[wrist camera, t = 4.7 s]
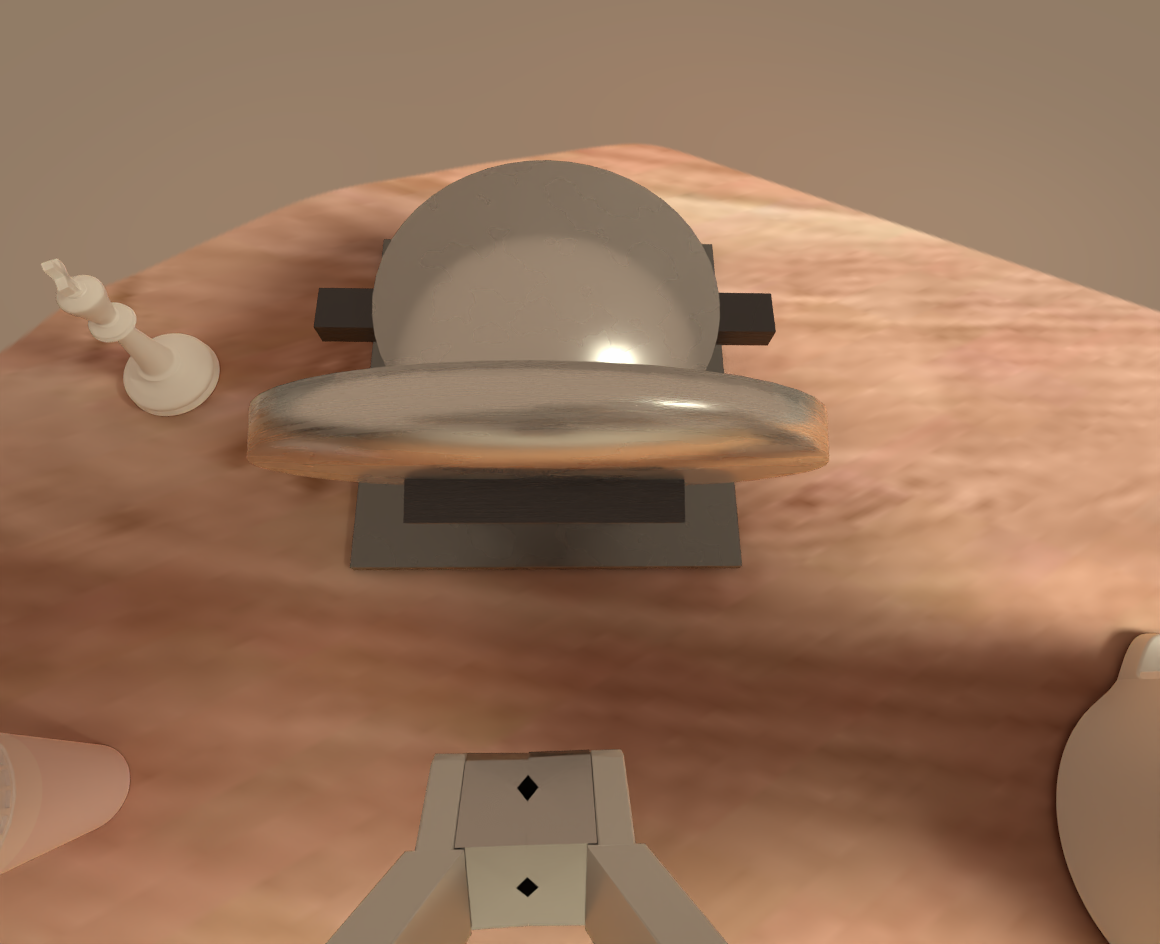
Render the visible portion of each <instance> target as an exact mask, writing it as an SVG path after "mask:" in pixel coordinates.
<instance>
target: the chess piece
mask: <svg viewBox="0 0 1160 944" xmlns="http://www.w3.org/2000/svg"><path fill="white" fill-rule="evenodd" d="M41 266H42V269H43V271H44V272H45V273H46V274H48V276H50V277H51V278H52V279H53V280H54V281H55V284H56V286H57V289H58V290H57V293H56V302H57V304H58V305H59V307H60V308H61V309H62V310H63V311H65V312H67V313H69V314H71V315H74V316H77V317H81V318H84V319H86V320H88V327H89V330H90V332H91V334H92V335H93V336H94V337H95V338H96V339H97V340H99V341H102V342H116V341H118V342H119V343H120V344H121V345H122V346H123V348H124V349H125V350H126V351H127V352H128V353H129V355H130V358H129V360H128V361H127V363H126V366H125V369H124V374H123V382H124V387H125V390H126V392H127V394H128V395H129V397H130V398H131V399H132V400H133V401H134V402H135V404H136V405H137V406H138V407H140V408H141V409H142V410H144V411H146V412H148V413H150V414H153V415H158V416H174V415H179V414H183V413H186V412H188V411H190V410H192V409H194V408H196V407H198V406H199V405H200V404H202V403H203V402H204V401H205V400H206V399H207V398H208V397H209V396H210V395H211V393H212V392H213V390H214V389H215V387H216V385H217V382H218V379H219V374H220V366H219V361H218V358H217V356H216V354H215V353H214V351H213V350H212V349H211V348H210V347H209V346H208V345H206V344H205V343H203V342H202V341H201V340H199V339H197V338H195V337H193V336H191V335H187V334H182V333H170V334H164V335H160V336H157V337H154V338H150V337H149V336H147V335H146V334H144V333H143V332H141V331H140V330H138V329H137V328H135V325H136V314H135V312H134V311H133V310H132V309H131V308H130V307H129V306H127V305H124V304H122V303H117V302H112V303H111V301H110V299H109V297H108V295H107V291H106V289H105V287H104V285H103V284H102V283H101V281H100V280H98V279H97V278H95V277H93V276H90V275H78V276H73V277H70V276H69V275H68V273H67V270H66V268H65V265H64V264H63V263H62V262H61V261H60V260H59V259H58V258H56V259H54V260H49V261H46V262H44V263H41Z"/></svg>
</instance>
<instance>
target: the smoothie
mask: <svg viewBox="0 0 1160 944" xmlns="http://www.w3.org/2000/svg"><path fill="white" fill-rule="evenodd" d="M129 786H130V772H129V767H128V764H127V762H126V760H125V758H124V757H123V756H122V755H121V754H120V753H119V752H118V751H117V750H115V749H114V748H112V747H109V746H106V745H100V744H91V743H83V742H75V741H67V740H58V739H50V738H42V737H34V736H26V735H17V734H9V733H1V732H0V875H1V874H3V873H5V872H7V871H9V870H11V869H14V868H16V867H18V866H20V865H22V864H24V863H26V862H28V861H30V860H32V859H34V858H37V857H39V856H41V855H43V854H45V853H47V852H49V851H51V850H53V849H55V848H57V847H60V846H62V845H64V844H66V843H68V842H70V841H72V840H74V839H76V838H78V837H81V836H83V835H85V834H87V833H89V832H91V831H93V830H95V829H97V828H99V827H101V826H103V825H104V824H106V823H107V822H108V821H109V820H111V819H112V818H113V817H114V816H115V815H116V813H117V812H118V811H119V809H120V808H121V806H122V805H123V803H124V801H125V799H126V797H127V794H128V790H129Z"/></svg>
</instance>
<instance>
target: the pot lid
mask: <svg viewBox="0 0 1160 944" xmlns="http://www.w3.org/2000/svg"><path fill="white" fill-rule="evenodd" d="M247 460H248V461H249V462H250V463H251V464H253V465H255V466H258V467H260V468H264V469H268V470H271V471H276V472H281V473H286V474H292V475H299V476H305V477H313V478H321V479H329V480H340V481H350V482H362V483H375V484H390V485H404V517H403V523H409V524H634V523H685V486H687V485H703V484H718V483H730V482H741V481H751V480H760V479H768V478H776V477H782V476H788V475H794V474H799V473H804V472H808V471H812V470H815V469H818V468H821V467H823V466H825V465H826V464H827V463H828V462H829V443H828V416H827V410H826V407H825V405H824V404H823V403H822V402H820V401H819V400H818V399H816V398H815V397H813V396H811V395H808V394H806V393H804V392H802V391H799V390H797V389H793V388H790V387H786V386H783V385H780V384H776V383H773V382H768V381H763V380H758V379H753V378H748V377H744V376H738V375H731V374H724V373H718V372H711V371H704V370H696V369H686V368H676V367H666V366H656V365H643V364H626V363H610V362H589V361H549V360H512V361H465V362H443V363H423V364H411V365H399V366H387V367H376V368H369V369H361V370H353V371H346V372H338V373H332V374H327V375H322V376H316V377H311V378H306V379H301V380H298V381H294V382H291V383H287V384H284V385H280V386H277V387H274V388H272V389H270V390H268V391H265V392H263V393H261V394H259V395H258V396H257V397H256V398H254V399H253V400H252V401H251V403H250V407H249V418H248V441H247Z"/></svg>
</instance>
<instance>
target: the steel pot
mask: <svg viewBox="0 0 1160 944" xmlns="http://www.w3.org/2000/svg"><path fill="white" fill-rule="evenodd" d="M314 328H315V330H316V331H317V333H318V335H319V336H320V338H321V339H322V341H346V342H373V350H372V359H371V368H376V367H387V366H399V365H411V364H423V363H443V362H465V361H512V360H549V361H589V362H610V363H626V364H643V365H656V366H666V367H676V368H686V369H696V370H704V371H711V372H718V373H724V368H723V357H722V346H721V345H768V344H769V342H770V340H771V339H772V337H773V335H774V334H775V332H776V330H775V322H774V314H773V306H772V298H771V294H764V293H718V287H717V282H716V278H715V271H714V260H713V250H712V244H701V242H700V241H699V239H698V238H697V236H696V235H695V233H694V232H693V231H692V229H691V228H690V227H689V225H688V224H687V223H686V222H685V221H684V220H683V219H682V217H681V216H680V215H679V214H678V213H677V212H676V211H675V210H674V209H672V208H671V207H670V206H669V205H668V204H667V203H666V202H665V201H664V200H662V199H661V198H659V197H658V196H656V195H655V194H654V193H652V192H651V191H649V190H648V189H646V188H645V187H643V186H641V185H639V184H637V183H635V182H633V181H632V180H630V179H628V178H625V177H623V176H620V175H618V174H615V173H613V172H610V171H607V170H604V169H600V168H597V167H593V166H590V165H584V164H579V163H573V162H565V161H551V160H543V161H524V162H517V163H509V164H504V165H500V166H496V167H492V168H488V169H485V170H482V171H479V172H476V173H474V174H471V175H468V176H466V177H464V178H462V179H460V180H458V181H456V182H454V183H452V184H450V185H448V186H447V187H445V188H443V189H442V190H440V191H439V192H437V193H436V194H434V195H433V196H431V197H430V198H429V199H428V200H427V201H425V202H424V203H423V204H422V205H421V206H419V207H418V208H417V209H416V210H415V211H414V212H413V213H412V214H411V215H410V216H409V217H408V219H407V220H406V221H405V222H404V223H403V224H402V226H401V227H400V228H399V230H398V231H397V233H396V234H395V235H394V237H393V238H392V240H390V239H384V243H383V253H382V260H381V263H380V266H379V269H378V272H377V275H376V279H375V285H374V289H360V288H319V293H318V300H317V307H316V314H315V322H314ZM403 517H404V485H390V484H375V483H362V482H359V485H358V495H357V505H356V514H355V524H354V534H353V543H352V553H351V563H350V568H351V569H353V570H420V569H646V568H740V567H741V566H742V560H741V550H740V539H739V528H738V518H737V507H736V496H735V485H734V482H730V483H718V484H703V485H687V486H685V523H634V524H409V523H403Z"/></svg>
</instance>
